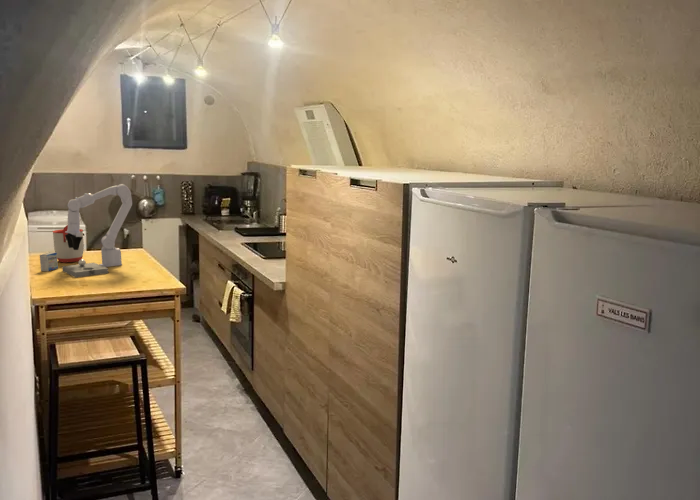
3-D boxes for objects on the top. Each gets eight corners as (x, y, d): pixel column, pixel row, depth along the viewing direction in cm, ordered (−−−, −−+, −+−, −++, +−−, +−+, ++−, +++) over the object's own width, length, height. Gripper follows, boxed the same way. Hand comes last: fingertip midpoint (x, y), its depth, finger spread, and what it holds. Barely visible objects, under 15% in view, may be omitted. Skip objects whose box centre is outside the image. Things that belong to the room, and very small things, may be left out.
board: (94, 267, 344) (94, 262, 344) (108, 273, 329) (108, 268, 329) (62, 271, 334) (62, 266, 334) (75, 277, 319) (75, 272, 319)
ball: (84, 265, 337) (84, 258, 336) (87, 266, 334) (86, 259, 333) (77, 266, 334) (77, 259, 334) (79, 267, 332) (79, 260, 331)
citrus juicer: (55, 265, 350) (53, 228, 347) (53, 259, 365) (50, 224, 362) (87, 262, 357) (84, 226, 354) (83, 257, 372) (81, 222, 369)
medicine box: (48, 271, 333) (47, 254, 332) (40, 271, 334) (39, 254, 333) (58, 268, 341) (57, 252, 339) (50, 268, 342) (49, 251, 340)
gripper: (61, 221, 342) (61, 247, 344) (70, 224, 331) (70, 251, 333) (75, 221, 346) (74, 246, 348) (84, 224, 336) (84, 250, 337)
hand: (73, 248), depth 341 cm, fingers open, 7 cm apart
